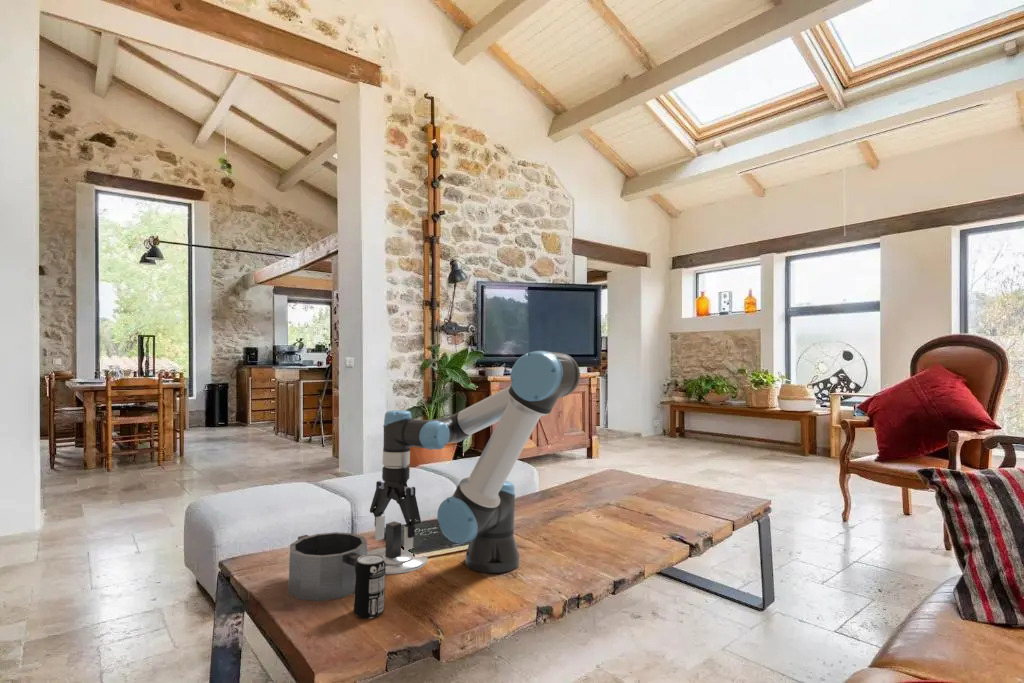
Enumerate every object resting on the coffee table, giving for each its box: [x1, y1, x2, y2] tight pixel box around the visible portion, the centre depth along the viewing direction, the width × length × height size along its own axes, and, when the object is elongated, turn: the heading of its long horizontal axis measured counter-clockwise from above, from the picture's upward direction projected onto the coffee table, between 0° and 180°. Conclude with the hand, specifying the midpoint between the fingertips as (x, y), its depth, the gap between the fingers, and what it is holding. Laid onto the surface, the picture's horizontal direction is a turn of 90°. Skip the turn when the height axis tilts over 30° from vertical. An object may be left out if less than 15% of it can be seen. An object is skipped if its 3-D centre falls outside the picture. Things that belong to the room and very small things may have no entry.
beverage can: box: [353, 554, 386, 620], centre depth 121 cm, size 7×7×12 cm
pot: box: [287, 531, 368, 602], centre depth 135 cm, size 24×18×10 cm
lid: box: [367, 521, 428, 576], centre depth 152 cm, size 19×19×11 cm
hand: (393, 544), depth 152 cm, fingers open, 11 cm apart
